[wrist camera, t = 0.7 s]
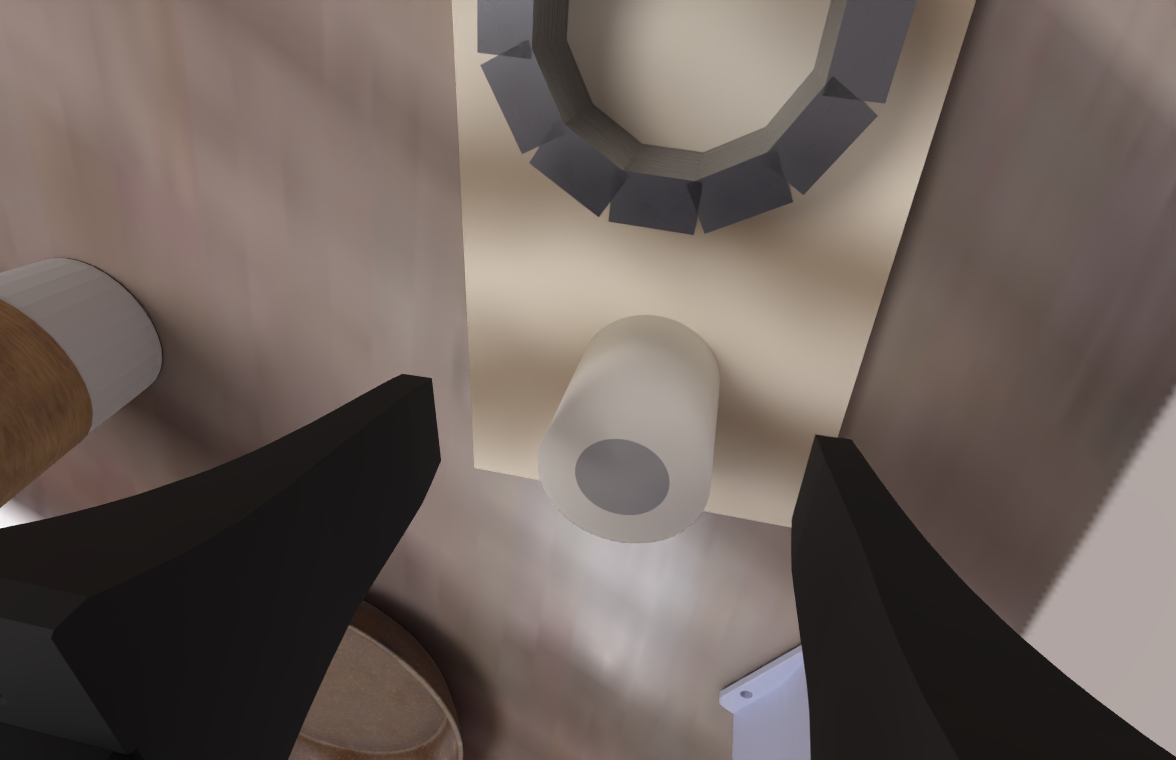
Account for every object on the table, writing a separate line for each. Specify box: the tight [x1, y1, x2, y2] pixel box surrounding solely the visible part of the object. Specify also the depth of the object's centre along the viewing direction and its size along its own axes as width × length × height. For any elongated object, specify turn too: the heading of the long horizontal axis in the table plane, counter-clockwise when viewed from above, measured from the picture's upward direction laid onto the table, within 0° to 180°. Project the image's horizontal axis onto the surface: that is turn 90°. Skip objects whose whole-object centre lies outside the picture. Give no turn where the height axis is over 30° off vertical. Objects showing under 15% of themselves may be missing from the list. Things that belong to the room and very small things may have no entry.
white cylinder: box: [537, 315, 720, 543], centre depth 18 cm, size 4×4×5 cm
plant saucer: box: [288, 600, 463, 760], centre depth 34 cm, size 18×18×3 cm
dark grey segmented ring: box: [477, 0, 917, 235], centre depth 14 cm, size 8×8×3 cm
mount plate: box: [452, 0, 976, 528], centre depth 18 cm, size 20×12×1 cm, turn 177°
